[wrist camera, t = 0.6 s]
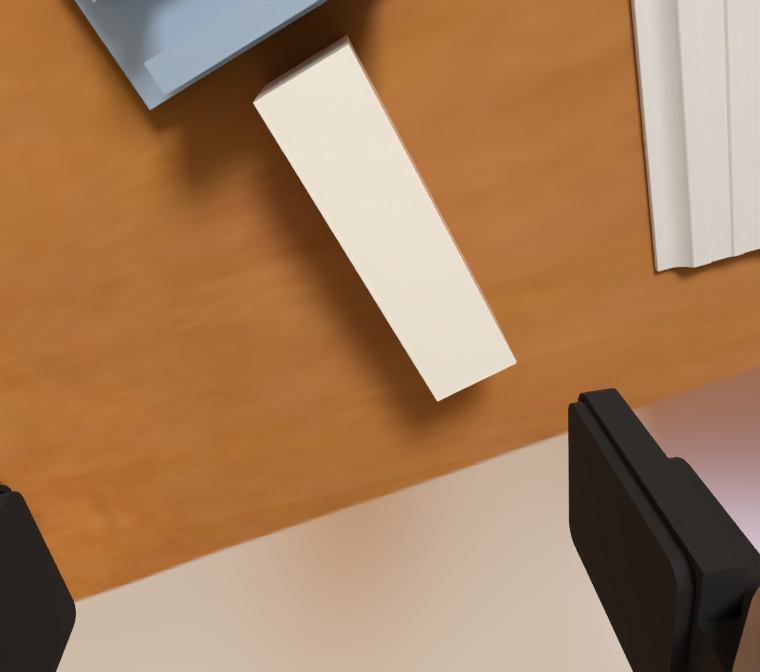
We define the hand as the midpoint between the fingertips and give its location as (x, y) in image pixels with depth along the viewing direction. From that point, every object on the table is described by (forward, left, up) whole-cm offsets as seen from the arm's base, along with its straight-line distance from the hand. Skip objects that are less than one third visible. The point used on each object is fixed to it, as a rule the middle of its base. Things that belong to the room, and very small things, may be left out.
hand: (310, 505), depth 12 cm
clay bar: (-2, +3, -22) cm, 22 cm away
